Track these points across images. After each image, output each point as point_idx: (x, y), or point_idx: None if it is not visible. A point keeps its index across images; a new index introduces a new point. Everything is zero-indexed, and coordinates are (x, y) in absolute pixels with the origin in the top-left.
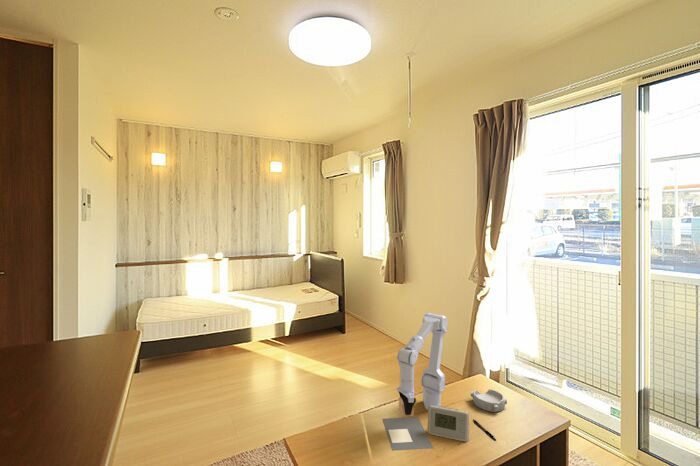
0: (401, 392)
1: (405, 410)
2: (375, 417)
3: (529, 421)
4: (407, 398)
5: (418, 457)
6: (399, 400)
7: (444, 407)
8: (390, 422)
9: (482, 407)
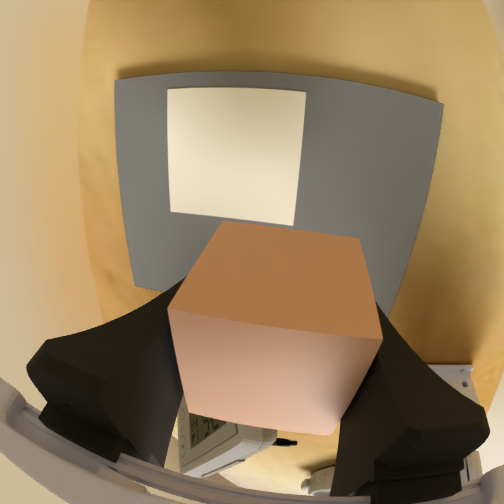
0: (111, 491)
1: (169, 289)
2: (473, 77)
3: (262, 482)
4: (50, 424)
5: (94, 201)
6: (342, 313)
7: (224, 465)
8: (390, 141)
9: (332, 470)
